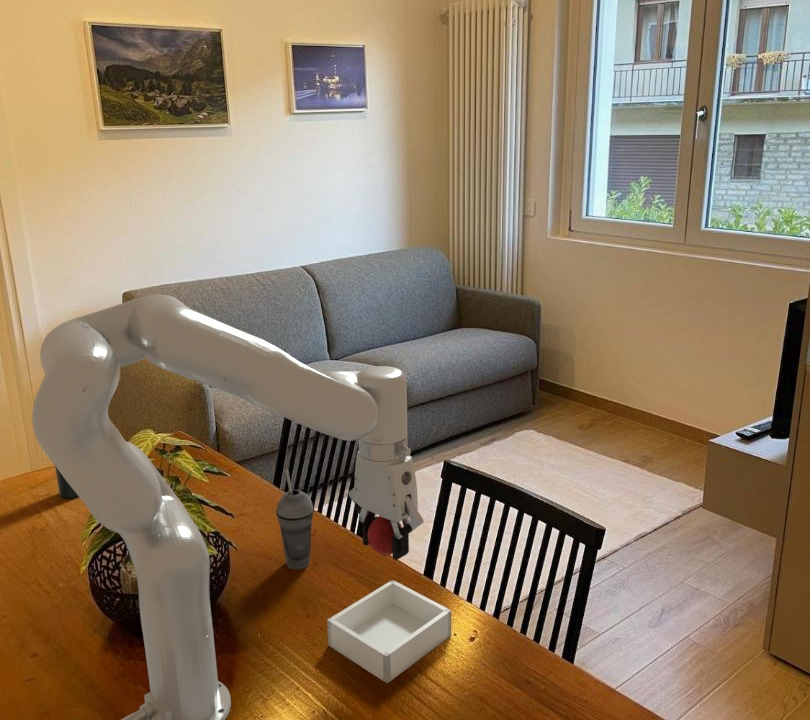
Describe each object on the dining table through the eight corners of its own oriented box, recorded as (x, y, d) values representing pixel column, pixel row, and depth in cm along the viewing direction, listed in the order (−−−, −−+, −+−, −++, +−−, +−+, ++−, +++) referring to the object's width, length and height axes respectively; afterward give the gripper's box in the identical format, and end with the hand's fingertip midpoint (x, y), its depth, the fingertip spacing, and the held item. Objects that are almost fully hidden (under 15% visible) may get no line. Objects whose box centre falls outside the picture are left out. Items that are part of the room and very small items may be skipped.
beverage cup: (306, 576, 150) (301, 481, 144) (272, 569, 152) (266, 476, 146) (322, 556, 156) (318, 465, 150) (289, 550, 158) (284, 460, 152)
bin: (387, 683, 121) (386, 656, 120) (328, 645, 130) (327, 619, 128) (451, 635, 132) (451, 610, 131) (392, 603, 141) (392, 579, 139)
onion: (400, 544, 129) (400, 501, 127) (407, 563, 124) (406, 518, 122) (366, 548, 129) (364, 504, 126) (370, 567, 123) (369, 522, 121)
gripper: (441, 453, 118) (441, 558, 123) (361, 425, 129) (364, 522, 134) (408, 470, 112) (409, 578, 118) (327, 439, 123) (332, 539, 129)
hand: (385, 548), depth 126 cm, fingers closed on onion, 5 cm apart
